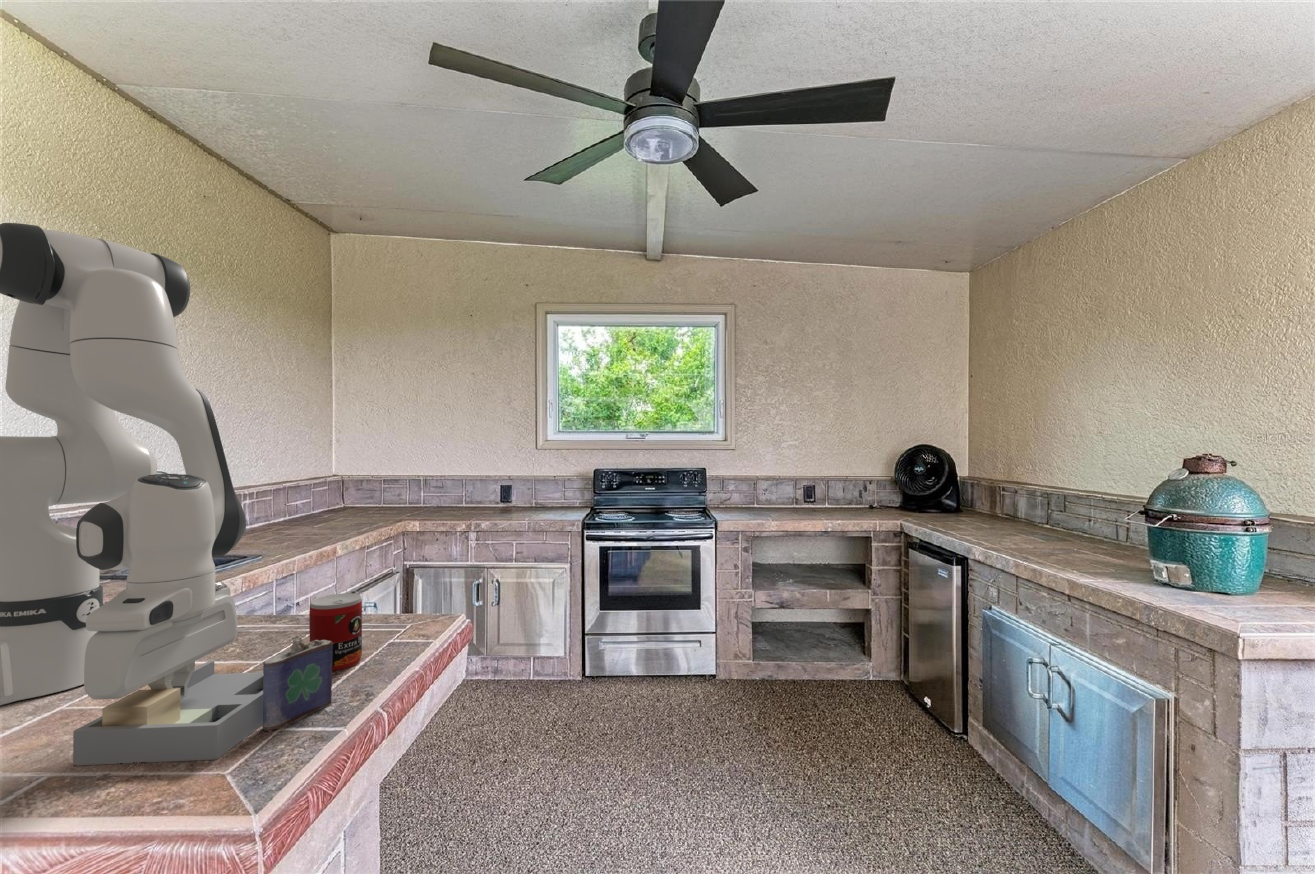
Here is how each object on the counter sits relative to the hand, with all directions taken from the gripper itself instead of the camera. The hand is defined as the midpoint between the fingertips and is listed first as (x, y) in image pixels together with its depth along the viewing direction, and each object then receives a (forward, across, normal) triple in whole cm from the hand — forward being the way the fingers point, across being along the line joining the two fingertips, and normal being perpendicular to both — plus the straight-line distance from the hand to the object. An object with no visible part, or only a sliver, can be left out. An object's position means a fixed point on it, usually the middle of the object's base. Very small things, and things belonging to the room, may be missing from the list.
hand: (171, 702), depth 72 cm
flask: (+4, -2, +15) cm, 15 cm away
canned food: (+4, -21, +10) cm, 24 cm away
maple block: (+1, +4, 0) cm, 5 cm away
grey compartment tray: (+3, -2, +3) cm, 5 cm away
